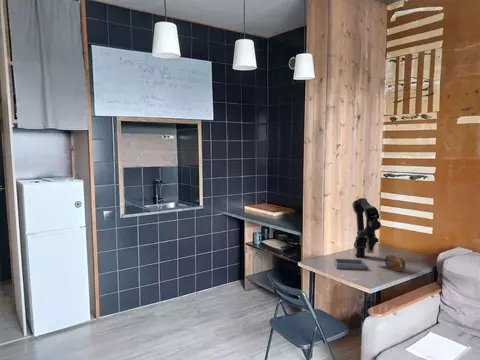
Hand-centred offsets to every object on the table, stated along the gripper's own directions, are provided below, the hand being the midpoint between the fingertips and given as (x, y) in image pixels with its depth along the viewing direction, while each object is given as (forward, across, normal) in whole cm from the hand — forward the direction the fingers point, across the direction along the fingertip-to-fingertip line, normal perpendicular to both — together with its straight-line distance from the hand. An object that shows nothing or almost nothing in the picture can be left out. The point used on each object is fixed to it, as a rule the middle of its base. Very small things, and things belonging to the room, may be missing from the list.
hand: (369, 249), depth 244 cm
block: (+2, 0, 0) cm, 2 cm away
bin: (+10, +7, -14) cm, 18 cm away
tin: (+10, +8, +14) cm, 19 cm away
